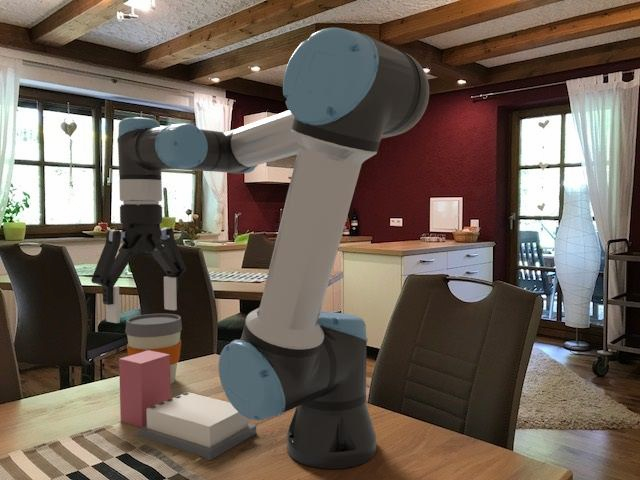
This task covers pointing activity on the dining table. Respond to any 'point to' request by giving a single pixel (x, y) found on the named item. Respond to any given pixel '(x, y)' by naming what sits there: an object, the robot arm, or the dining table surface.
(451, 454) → the dining table surface
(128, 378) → the pink block
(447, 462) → the dining table surface
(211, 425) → the white notepad
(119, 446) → the dining table surface
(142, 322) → the reusable coffee cup
